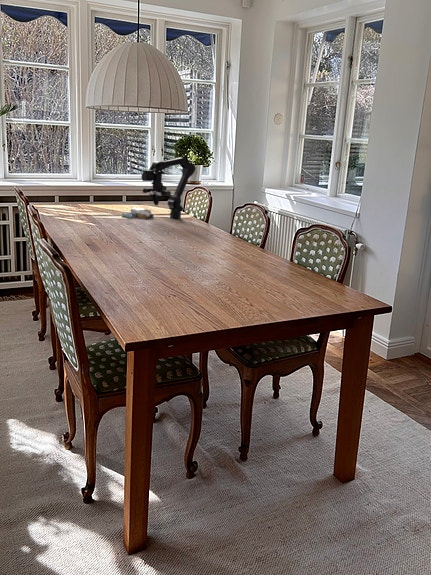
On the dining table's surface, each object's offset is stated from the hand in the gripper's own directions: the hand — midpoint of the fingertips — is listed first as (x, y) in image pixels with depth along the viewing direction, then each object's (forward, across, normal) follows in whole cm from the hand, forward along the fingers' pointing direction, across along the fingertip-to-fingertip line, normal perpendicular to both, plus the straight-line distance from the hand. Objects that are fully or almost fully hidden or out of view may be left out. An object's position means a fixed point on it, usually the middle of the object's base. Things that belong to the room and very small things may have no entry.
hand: (156, 205), depth 344 cm
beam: (+10, +16, 0) cm, 19 cm away
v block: (+10, +16, +7) cm, 20 cm away
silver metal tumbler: (+9, +12, 0) cm, 15 cm away
